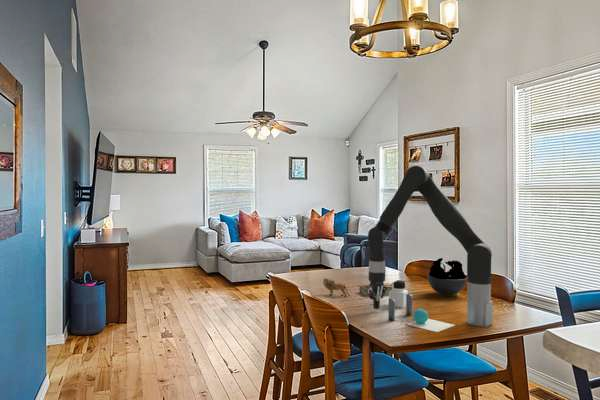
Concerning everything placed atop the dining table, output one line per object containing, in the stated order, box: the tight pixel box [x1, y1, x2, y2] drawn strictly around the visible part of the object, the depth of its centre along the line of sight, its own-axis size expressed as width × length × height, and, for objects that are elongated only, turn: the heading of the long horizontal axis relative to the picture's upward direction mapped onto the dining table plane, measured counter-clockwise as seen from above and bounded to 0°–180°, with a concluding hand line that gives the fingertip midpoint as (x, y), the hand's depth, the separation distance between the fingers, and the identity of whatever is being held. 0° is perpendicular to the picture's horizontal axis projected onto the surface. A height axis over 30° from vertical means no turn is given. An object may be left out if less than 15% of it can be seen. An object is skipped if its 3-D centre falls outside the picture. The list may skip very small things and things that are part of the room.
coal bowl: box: [427, 257, 468, 297], centre depth 247 cm, size 20×20×19 cm
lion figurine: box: [322, 277, 351, 298], centre depth 245 cm, size 15×5×9 cm, turn 73°
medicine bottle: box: [388, 279, 409, 309], centre depth 224 cm, size 7×7×12 cm
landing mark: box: [406, 318, 456, 333], centre depth 192 cm, size 14×14×1 cm
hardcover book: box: [359, 283, 393, 297], centre depth 251 cm, size 12×21×4 cm, turn 107°
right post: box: [405, 293, 413, 317], centre depth 208 cm, size 3×3×9 cm
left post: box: [387, 298, 396, 322], centre depth 199 cm, size 3×3×9 cm
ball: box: [412, 308, 429, 324], centre depth 195 cm, size 6×6×6 cm
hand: (376, 308), depth 213 cm, fingers closed
